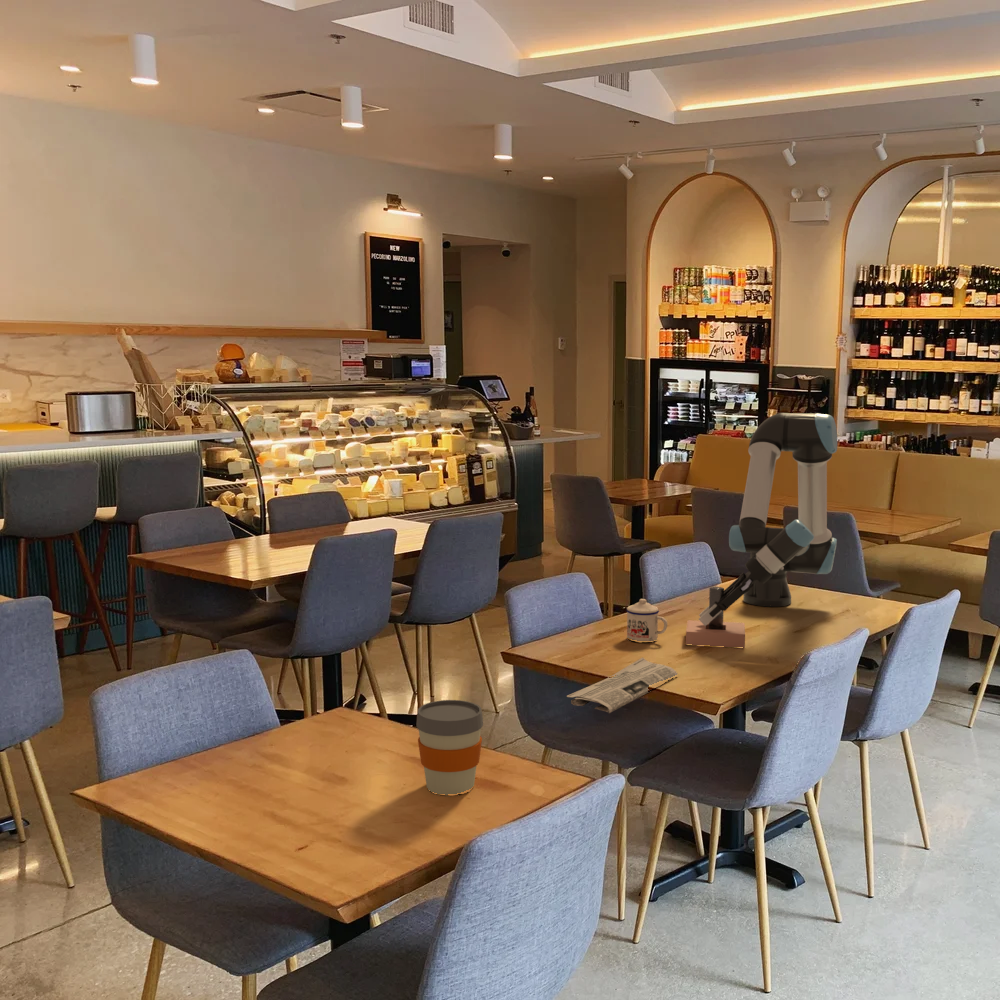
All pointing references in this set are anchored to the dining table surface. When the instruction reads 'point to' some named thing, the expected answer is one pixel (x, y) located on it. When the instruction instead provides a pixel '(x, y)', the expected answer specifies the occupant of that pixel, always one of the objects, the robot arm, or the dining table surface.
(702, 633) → the pink block with hole
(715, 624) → the pin
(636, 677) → the newspaper
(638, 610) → the teacup with lid
